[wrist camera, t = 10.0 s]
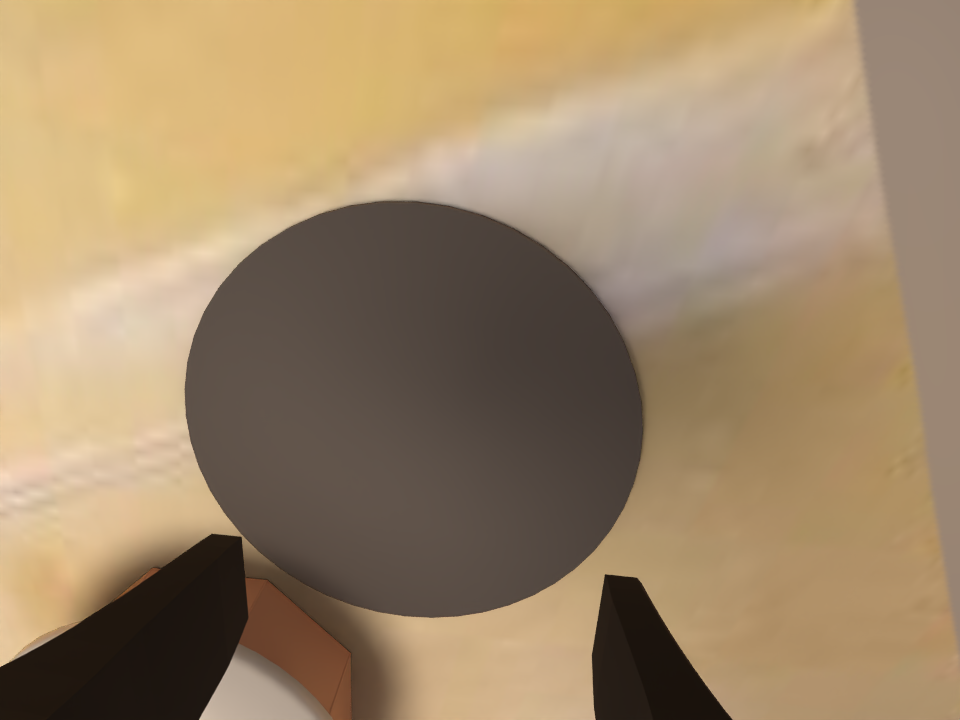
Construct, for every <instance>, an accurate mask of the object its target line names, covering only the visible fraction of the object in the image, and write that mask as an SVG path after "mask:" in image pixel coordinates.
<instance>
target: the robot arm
mask: <svg viewBox="0 0 960 720" xmlns="http://www.w3.org/2000/svg"><path fill="white" fill-rule="evenodd" d="M248 618H249V616H248V605H247V593H246V582H245V571H244V559H243V548H242V537H237V536H228V535H218V534H211V535H209V536H208V537H206V538H205V539H203V540H202V541H200V542H199V543H197V544H196V545H195V546H193V547H192V548H190V549H189V550H187V551H186V552H184V553H183V554H182V555H180V556H179V557H177V558H176V559H175V560H173V561H172V562H170V563H169V564H167V565H166V566H165V567H163V568H162V569H160V570H159V571H158V572H156V573H155V574H153V575H152V576H150V577H149V578H147V579H146V580H144V581H143V582H142V583H140V584H139V585H137V586H136V587H134V588H133V589H131V590H130V591H128V592H127V593H125V594H124V595H123V596H121V597H120V598H118V599H116V600H115V601H113V602H112V603H110V604H108V605H107V606H105V607H104V608H102V609H101V610H99V611H97V612H96V613H94V614H93V615H91V616H89V617H88V618H86V619H85V620H83V621H82V622H80V623H78V624H77V625H75V626H74V627H72V628H70V629H69V630H67V631H65V632H64V633H62V634H60V635H59V636H57V637H55V638H53V639H52V640H50V641H48V642H46V643H44V644H43V645H41V646H39V647H37V648H35V649H33V650H32V651H30V652H28V653H26V654H24V655H22V656H20V657H19V658H17V659H15V660H13V661H11V662H9V663H7V664H5V665H3V666H1V667H0V720H199V719H200V717H201V715H202V714H203V712H204V710H205V708H206V707H207V705H208V703H209V701H210V699H211V698H212V696H213V694H214V692H215V690H216V689H217V687H218V685H219V683H220V681H221V680H222V678H223V676H224V674H225V672H226V670H227V669H228V667H229V664H230V662H231V660H232V658H233V655H234V653H235V651H236V648H237V646H238V643H239V641H240V638H241V636H242V633H243V631H244V628H245V626H246V623H247V621H248ZM592 670H593V695H594V711H595V718H596V720H732V719H731V717H730V716H729V715H728V714H727V712H726V711H725V710H724V709H723V707H722V706H721V705H720V703H719V702H718V701H717V699H716V698H715V697H714V695H713V694H712V693H711V691H710V690H709V689H708V687H707V686H706V685H705V683H704V682H703V680H702V679H701V678H700V676H699V675H698V673H697V672H696V671H695V669H694V668H693V666H692V665H691V663H690V662H689V660H688V659H687V657H686V656H685V654H684V653H683V651H682V650H681V648H680V647H679V645H678V644H677V642H676V641H675V639H674V638H673V636H672V635H671V633H670V631H669V630H668V628H667V626H666V625H665V623H664V622H663V620H662V618H661V617H660V615H659V613H658V612H657V610H656V608H655V606H654V605H653V603H652V601H651V599H650V598H649V596H648V594H647V592H646V591H645V589H644V587H643V585H642V583H641V582H640V581H639V580H638V578H635V577H625V576H615V575H606V574H605V578H604V584H603V590H602V596H601V603H600V609H599V615H598V621H597V627H596V634H595V640H594V646H593V652H592Z"/></svg>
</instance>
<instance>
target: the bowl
mask: <svg viewBox="0 0 960 720" xmlns="http://www.w3.org/2000/svg"><path fill="white" fill-rule="evenodd" d="M159 570H160V569H159V568H151V569H150V571H148V572H147V573H146V574H145V575H144V576H142V577H141V578H140V579H139V580H138V581H136V582H135V583H134V584H133V585H132V586H130V587H129V588H128V589H127V590H126V591H124V592H123V593H122V594H121V595H120V596H119V597H117V598H116V599H118V598H120V597H121V596H123V595H124V594H125V593H127V592H128V591H130V590H131V589H133V588H134V587H136V586H137V585H139V584H140V583H142V582H143V581H144V580H146V579H147V578H149V577H150V576H152V575H153V574H155V573H156V572H158V571H159ZM245 582H246V593H247V605H248V616H249V618H248V621H247V623H246V626H245V628H244V631H243V633H242V636H241V638H240V641H239V644H241V645H243V646H245V647H247V648H249V649H251V650H253V651H255V652H257V653H258V654H260V655H262V656H263V657H265V658H266V659H268V660H270V661H271V662H273V663H274V664H276V665H278V666H279V667H280V668H282V669H283V670H284V671H286V672H287V673H288V674H289V675H291V676H292V677H293V678H295V679H296V680H297V681H299V682H300V683H301V684H302V685H303V686H304V687H305V688H306V689H307V690H308V691H309V692H310V693H311V694H312V695H313V696H314V697H315V698H316V699H317V700H318V701H319V702H320V703H321V705H322V706H323V707H324V708H325V710H326V711H327V712H328V713H329V714H330V716H331V717H332V719H333V720H352V714H351V652H349V651H348V650H347V649H345V648H344V647H343V646H342V645H341V644H340V643H339V642H337V641H336V640H335V639H334V638H333V637H332V636H331V635H329V634H328V633H327V632H326V631H325V630H324V629H323V628H321V627H320V626H319V625H318V624H317V623H316V622H315V621H313V620H312V619H311V618H310V617H309V616H308V615H307V614H305V613H304V612H303V611H302V610H301V609H300V608H299V607H297V606H296V605H295V604H294V603H293V602H292V601H291V600H289V599H288V598H287V597H286V596H285V595H284V594H283V593H281V592H280V591H279V590H278V589H277V588H276V587H275V586H273V585H272V584H271V583H270V582H269V581H268V580H267V579H266V580H262V579H253V578H245ZM116 599H115V600H116ZM115 600H114V601H115ZM111 603H112V602H111Z"/></svg>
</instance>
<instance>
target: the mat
mask: <svg viewBox="0 0 960 720" xmlns="http://www.w3.org/2000/svg"><path fill="white" fill-rule="evenodd" d="M185 406H186V419H187V424H188V429H189V435H190V440H191V444H192V447H193V450H194V453H195V456H196V459H197V462H198V465H199V468H200V470H201V472H202V474H203V476H204V478H205V480H206V483H207V485H208V487H209V489H210V491H211V492H212V494H213V496H214V497H215V499H216V500H217V502H218V504H219V505H220V507H221V508H222V510H223V511H224V513H225V514H226V516H227V517H228V518H229V519H230V520H231V522H232V523H233V524H234V525H235V527H236V528H237V529H238V530H239V532H240V533H241V534H242V535H243V536H244V537H245V538H246V539H247V540H248V541H249V542H250V543H251V544H252V545H253V546H254V547H255V548H256V549H257V550H258V551H259V552H260V553H261V554H263V555H264V556H265V557H266V558H268V559H269V560H270V561H271V562H273V563H274V564H275V565H276V566H278V567H279V568H280V569H282V570H283V571H285V572H286V573H288V574H289V575H291V576H293V577H294V578H296V579H297V580H299V581H300V582H302V583H304V584H305V585H307V586H309V587H311V588H313V589H315V590H317V591H319V592H321V593H323V594H325V595H327V596H330V597H333V598H335V599H338V600H341V601H343V602H346V603H349V604H351V605H354V606H358V607H362V608H366V609H369V610H373V611H377V612H382V613H388V614H394V615H401V616H411V617H429V618H434V617H454V616H463V615H469V614H475V613H482V612H486V611H490V610H493V609H497V608H501V607H504V606H508V605H510V604H513V603H515V602H518V601H520V600H523V599H525V598H528V597H530V596H533V595H535V594H536V593H538V592H540V591H542V590H544V589H545V588H547V587H549V586H551V585H553V584H555V583H556V582H557V581H559V580H560V579H561V578H563V577H564V576H566V575H567V574H568V573H570V572H571V571H573V570H574V569H575V568H576V567H577V566H579V565H580V564H581V563H582V562H583V561H584V560H585V559H586V558H587V557H588V556H589V555H590V554H591V553H592V552H593V551H594V550H595V549H596V548H597V547H598V545H599V544H600V543H601V542H602V540H603V539H604V538H605V537H606V535H607V534H608V533H609V532H610V530H611V529H612V527H613V525H614V524H615V522H616V520H617V519H618V517H619V515H620V514H621V512H622V510H623V508H624V506H625V504H626V501H627V499H628V496H629V494H630V492H631V489H632V487H633V484H634V481H635V477H636V473H637V469H638V465H639V461H640V454H641V444H642V433H643V426H642V408H641V399H640V394H639V389H638V384H637V380H636V375H635V372H634V369H633V366H632V363H631V361H630V358H629V355H628V352H627V350H626V347H625V344H624V341H623V340H622V338H621V336H620V334H619V332H618V330H617V328H616V326H615V325H614V323H613V321H612V319H611V317H610V315H609V314H608V312H607V311H606V310H605V308H604V307H603V306H602V304H601V303H600V302H599V300H598V299H597V297H596V296H595V295H594V293H593V292H592V291H591V289H590V288H589V287H588V286H587V285H586V284H585V283H584V282H583V281H582V280H581V279H580V278H579V277H578V276H577V275H576V274H575V273H574V272H573V271H572V270H571V269H570V268H569V267H568V266H567V265H566V264H565V263H563V262H562V261H561V260H560V259H558V258H557V257H556V256H555V255H553V254H552V253H551V252H549V251H548V250H547V249H546V248H544V247H543V246H542V245H540V244H538V243H537V242H535V241H533V240H532V239H530V238H528V237H527V236H525V235H523V234H521V233H520V232H518V231H516V230H515V229H513V228H510V227H508V226H506V225H503V224H501V223H499V222H496V221H494V220H492V219H489V218H487V217H485V216H482V215H479V214H475V213H472V212H468V211H464V210H461V209H457V208H454V207H450V206H443V205H436V204H429V203H422V202H391V201H383V202H375V203H367V204H360V205H352V206H348V207H344V208H340V209H337V210H333V211H329V212H326V213H322V214H319V215H317V216H314V217H312V218H310V219H308V220H305V221H303V222H301V223H298V224H296V225H294V226H292V227H290V228H288V229H286V230H284V231H283V232H281V233H280V234H278V235H276V236H275V237H273V238H272V239H270V240H268V241H267V242H265V243H264V244H262V245H261V246H259V247H258V248H257V249H256V250H255V251H254V252H252V253H251V254H250V255H249V256H248V257H247V258H245V259H244V260H243V261H242V262H241V263H240V264H238V266H237V267H236V268H235V269H234V270H233V271H232V273H231V274H230V275H229V276H228V277H227V278H226V280H225V281H224V282H223V283H222V284H221V285H220V287H219V288H218V290H217V291H216V293H215V295H214V296H213V298H212V300H211V301H210V303H209V304H208V306H207V308H206V309H205V311H204V313H203V316H202V318H201V321H200V323H199V325H198V328H197V330H196V332H195V335H194V338H193V342H192V346H191V350H190V354H189V358H188V362H187V371H186V381H185Z"/></svg>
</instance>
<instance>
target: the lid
mask: <svg viewBox="0 0 960 720" xmlns="http://www.w3.org/2000/svg"><path fill="white" fill-rule="evenodd" d="M80 622H82V621H80ZM80 622H77V623H73V624H70V625H66V626H63V627H60V628H57V629H55V630H53V631H51V632H49V633H46V634H44V635H42V636H40V637H38V638H37V639H36V640H34V641H33V642H31V643H30V644H28V645H27V646H25V647H24V648H23V649H22V650H21V651H20V652H19V653H18V654H17V655H16V656H15V657H14V658H13V659H12V660H11V661H13V660H15V659H17V658H19V657H20V656H22V655H24V654H26V653H28V652H30V651H32V650H33V649H35V648H37V647H39V646H41V645H43V644H44V643H46V642H48V641H50V640H52V639H53V638H55V637H57V636H59V635H60V634H62V633H64V632H65V631H67V630H69V629H70V628H72V627H74V626H75V625H77V624H78V623H80ZM11 661H10V662H11ZM199 720H333V719H332V717H331V716H330V714H329V713H328V712H327V711H326V710H325V708H324V707H323V706H322V705H321V703H320V702H319V701H318V700H317V699H316V698H315V697H314V696H313V695H312V694H311V693H310V692H309V691H308V690H307V689H306V688H305V687H304V686H303V685H302V684H301V683H300V682H299V681H297V680H296V679H295V678H293V677H292V676H291V675H289V674H288V673H287V672H286V671H284V670H283V669H282V668H280V667H279V666H278V665H276V664H274V663H273V662H271V661H270V660H268V659H266V658H265V657H263V656H262V655H260V654H258V653H257V652H255V651H253V650H251V649H249V648H247V647H245V646H243V645H241V644H239V643H238V646H237V648H236V651H235V653H234V655H233V658H232V660H231V662H230V664H229V667H228V669H227V670H226V672H225V674H224V676H223V678H222V680H221V681H220V683H219V685H218V687H217V689H216V690H215V692H214V694H213V696H212V698H211V699H210V701H209V703H208V705H207V707H206V708H205V710H204V712H203V714H202V715H201V717H200V719H199Z"/></svg>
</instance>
